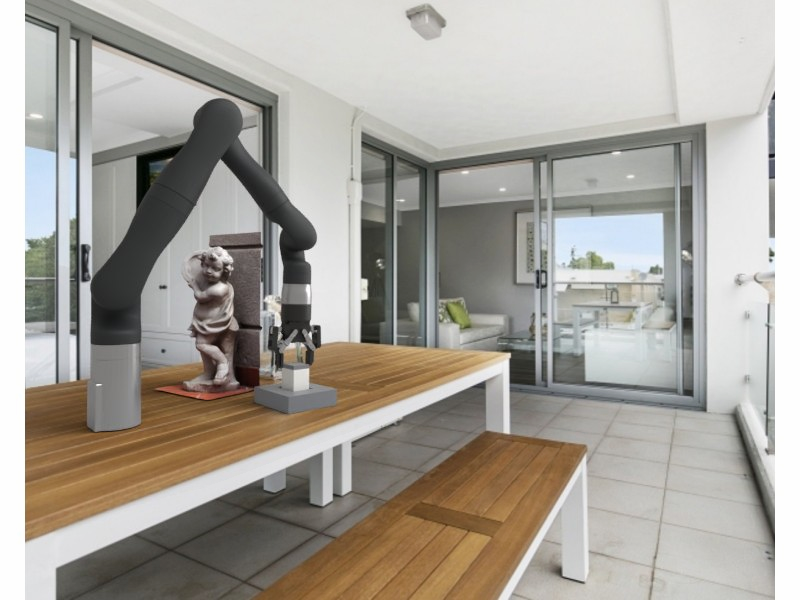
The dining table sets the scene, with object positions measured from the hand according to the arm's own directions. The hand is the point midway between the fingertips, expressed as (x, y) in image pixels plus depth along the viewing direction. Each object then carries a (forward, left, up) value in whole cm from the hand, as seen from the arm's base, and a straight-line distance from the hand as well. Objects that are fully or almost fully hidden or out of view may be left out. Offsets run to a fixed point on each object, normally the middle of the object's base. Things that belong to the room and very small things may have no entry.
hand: (294, 366), depth 127 cm
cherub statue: (-9, +30, -10) cm, 33 cm away
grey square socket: (0, 0, -9) cm, 9 cm away
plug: (0, 0, -8) cm, 8 cm away
